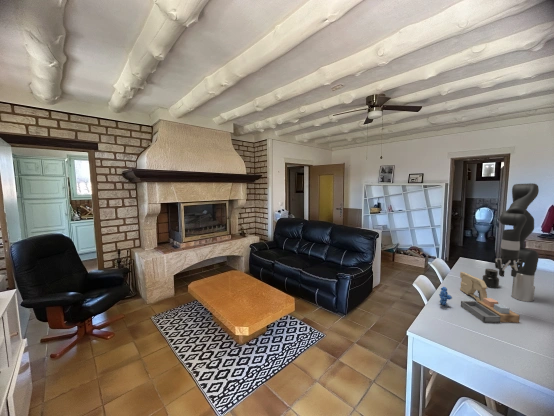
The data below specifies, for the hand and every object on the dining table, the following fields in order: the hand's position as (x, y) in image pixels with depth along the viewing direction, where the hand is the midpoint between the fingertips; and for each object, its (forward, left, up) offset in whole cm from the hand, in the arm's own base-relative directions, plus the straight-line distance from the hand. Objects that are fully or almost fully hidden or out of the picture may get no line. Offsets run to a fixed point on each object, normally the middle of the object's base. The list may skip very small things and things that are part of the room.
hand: (507, 276), depth 133 cm
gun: (+5, -18, -22) cm, 28 cm away
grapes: (+30, -6, -22) cm, 37 cm away
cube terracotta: (+8, 0, -18) cm, 19 cm away
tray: (+17, +3, -22) cm, 28 cm away
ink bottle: (-22, -37, -22) cm, 48 cm away
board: (+7, +3, -22) cm, 23 cm away
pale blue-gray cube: (+8, +7, -18) cm, 21 cm away
